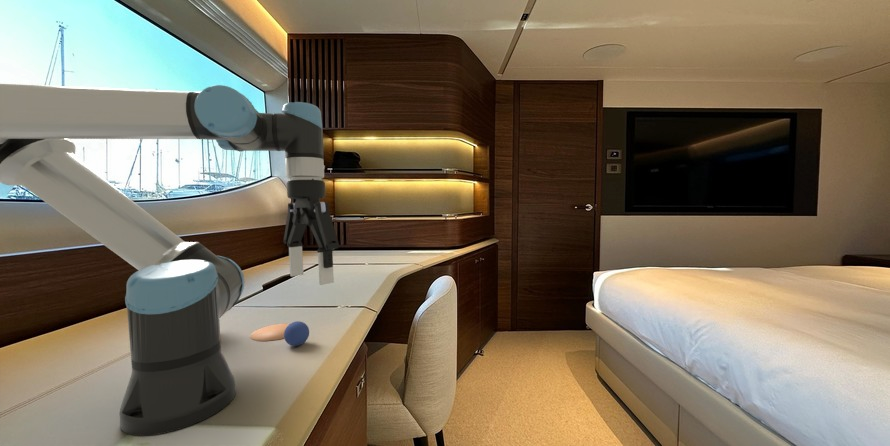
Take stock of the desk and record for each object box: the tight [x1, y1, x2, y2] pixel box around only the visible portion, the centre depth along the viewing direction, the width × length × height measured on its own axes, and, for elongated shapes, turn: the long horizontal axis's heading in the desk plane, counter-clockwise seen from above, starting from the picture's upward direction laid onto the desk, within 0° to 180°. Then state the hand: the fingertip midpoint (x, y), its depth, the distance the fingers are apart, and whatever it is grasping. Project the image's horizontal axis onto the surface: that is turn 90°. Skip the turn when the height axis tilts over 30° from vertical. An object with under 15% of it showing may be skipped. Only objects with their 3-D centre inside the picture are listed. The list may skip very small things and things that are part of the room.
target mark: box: [250, 322, 292, 342], centre depth 92 cm, size 12×12×1 cm
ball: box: [283, 320, 310, 347], centre depth 83 cm, size 6×6×6 cm
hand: (310, 279), depth 76 cm, fingers open, 13 cm apart
